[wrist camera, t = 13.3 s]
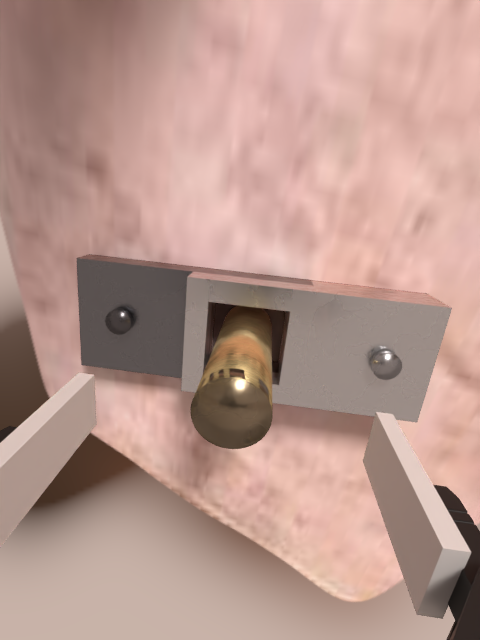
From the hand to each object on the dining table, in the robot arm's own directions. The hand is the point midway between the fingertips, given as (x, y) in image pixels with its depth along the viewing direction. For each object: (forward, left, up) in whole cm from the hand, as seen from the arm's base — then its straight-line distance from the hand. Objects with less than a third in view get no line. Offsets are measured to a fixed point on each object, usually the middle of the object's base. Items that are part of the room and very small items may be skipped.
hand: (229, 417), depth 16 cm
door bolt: (0, 0, -14) cm, 14 cm away
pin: (0, 0, -14) cm, 14 cm away
